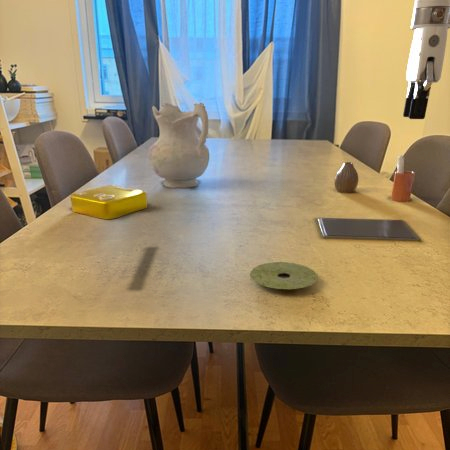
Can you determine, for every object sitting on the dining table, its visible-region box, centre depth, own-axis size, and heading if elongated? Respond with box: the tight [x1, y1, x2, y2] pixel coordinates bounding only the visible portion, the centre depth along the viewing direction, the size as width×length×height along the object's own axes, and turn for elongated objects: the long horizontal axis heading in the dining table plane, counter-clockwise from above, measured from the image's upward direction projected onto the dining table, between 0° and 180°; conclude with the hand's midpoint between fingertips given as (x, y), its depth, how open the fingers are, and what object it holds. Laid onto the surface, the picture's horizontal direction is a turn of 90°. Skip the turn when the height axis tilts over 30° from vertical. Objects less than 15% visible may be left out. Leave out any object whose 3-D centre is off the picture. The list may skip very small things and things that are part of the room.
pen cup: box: [390, 170, 416, 203], centre depth 120 cm, size 5×5×8 cm
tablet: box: [317, 217, 421, 242], centre depth 98 cm, size 20×14×1 cm
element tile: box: [69, 184, 148, 220], centre depth 114 cm, size 15×15×5 cm
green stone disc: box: [249, 261, 319, 290], centre depth 73 cm, size 11×11×2 cm
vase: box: [333, 161, 359, 194], centre depth 129 cm, size 7×7×9 cm
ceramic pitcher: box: [148, 102, 210, 189], centre depth 136 cm, size 22×20×25 cm
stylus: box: [397, 154, 405, 174], centre depth 119 cm, size 2×2×12 cm
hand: (413, 117), depth 95 cm, fingers open, 4 cm apart
